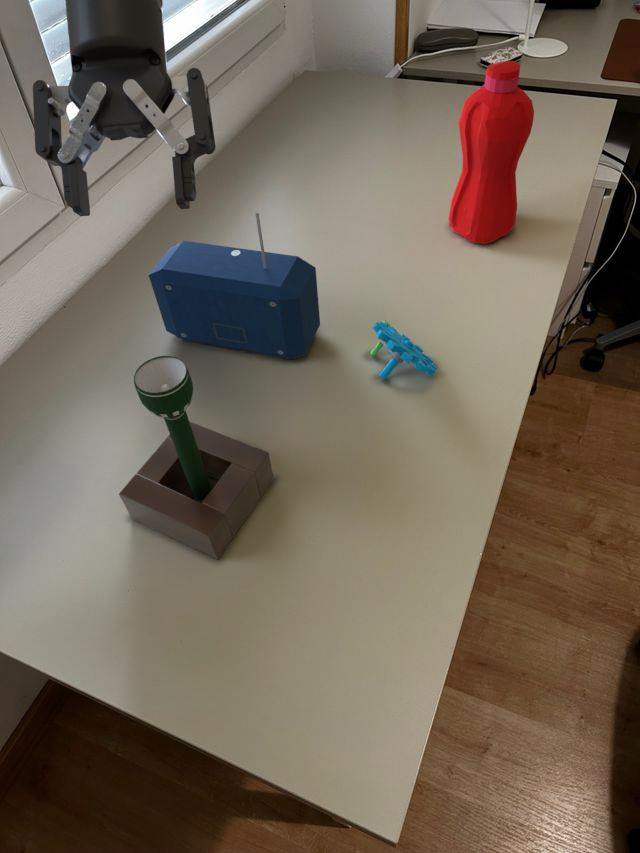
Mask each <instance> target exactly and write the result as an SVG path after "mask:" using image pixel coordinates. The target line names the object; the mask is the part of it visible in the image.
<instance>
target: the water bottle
mask: <svg viewBox="0 0 640 853" xmlns="http://www.w3.org/2000/svg"><path fill="white" fill-rule="evenodd" d="M520 71H521V65H520V64H519V63H518V62H516V61H514V60H503V61H497V62H495V63H494V62H493V63H492V64H489V65H488V66H487V67H486V71H485V72H486V73H485V78H484V79H485V80H484V84H483V85H481V86H480V87H478V89H476V90H474V91H473V92H472V93H471V94H470V95H468V97H467V98H466V99H465V101H464V104H463V106H462V110H461V113H460V116H459V120H458V130H459V138H460V146H461V154H462V166H461V167H462V169H461V172H460V175H459V178H458V181H457V184H456V187H455V189H454V192H453V195H452V198H451V200H450V207H449V213H448V214H449V215H448V223H449V227H450V228H451V229H452V231H453V232H454V233H456V234H458V235H460V236H461V237H463V238H464V239H465V240H466V241H468V242H471V243H473V244H483V245H485V244H489V243H492V242H495V241H496V240H498V239H499V238H501V237H504V236H507V235H508V234H509V233H510V232H511V231H512V230H513V228H514V227H515V224H516V219H517V211H518V195H517V194H518V192H517V177H516V173H517V168H518V163H519V161H520V158H521V156H522V154H523V152H524V150H525V147H526V144H527V142H528V140H529V138H530V136H531V133H532V128H533V123H534V117H535V109H534V105H533V100H532V99H531V98H530V97H529V95H528V94H527V93H526V92H525V91H524V90H523V89H521V88H520V87H519V86H518V84H519V79H521V77H520Z"/></svg>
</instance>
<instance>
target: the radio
mask: <svg viewBox="0 0 640 853" xmlns="http://www.w3.org/2000/svg"><path fill="white" fill-rule="evenodd" d="M254 215H255V219H256V226H257V234H258V240H259V245H260V250H254V249H247V248H241V247H240V248H239V247H233V246H227V245H226V246H225V245H217V244H211V243H210V244H209V243H202V242H197V241H196V242H195V241H188V240H182V241H180V242H178V243H176V244H174V245H172V246H170V247H169V248H168V249H167V251H166V252H165V253H164V255H163V256H162V258H160V260H159V261H158V263H157V264H156V265H155V266H154V267H153V269H152V270H151V271H150V272H149V274H148V278H149V281H150V285H151V287H152V291H153V294H154V297H155V300H156V304H157V306H158V309H159V311H160V315H161V319H162V322H163V325H164V328H165V330H166V332H168V333H170V335H172V336H174V337H177V338H178V339H180V340H182V341H184V342H190V343H196V344H201V345H206V346H212V347H217V348H224V349H228V350H235V351H240V352H245V353H251V354H255V355H256V354H257V355H263V356H269V357H273V358H279V359H284V360H294V359H298V358H301V357H304V356H306V355H307V353H308V351H309V349H310V347H311V345H312V343H313V341H314V339H315V337H316V334H317V332H318V330H319V328H320V327H321V316H320V305H319V293H318V280H317V268H316V267H315V266H314V265H312V264H311V263H309V262H307V261H306V260H305V259H303V258H301V257H299V256H297V255H291V254H284V253H277V252H268V251H265V248H264V240H263V234H262V228H261V221H260V220H261V218H260V214H259V212H255V213H254Z"/></svg>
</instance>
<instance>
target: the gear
mask: <svg viewBox="0 0 640 853" xmlns="http://www.w3.org/2000/svg"><path fill="white" fill-rule="evenodd" d="M372 330H374V332H376V334H375V335H376V337H377V338H378V340H379V341H378V342H377V344H376V345H375V346H374V347H373V349H372V350H371V351H370V352H369V354H370V355H371V356H372V357H375V356H377V354H378V353H379V351H381V349H382V348H383V346H384V348H385V349H386V350H387V351H388V353H389V354H390V356H391V357H392V358H391V359H390V360H389V362H388V363H387V364H386V365H385V366H384V368H383V369H382V370H381V372H380V373H379V374H378V377H380V379H381V380H384V381H386V380H387V378H388V377H389V376H390V374H391V373H392V372H393V371H394V369H395V368H396V367H397V366H398V364H402V363H403V362H404V363H406V364H407V365H409V364H410V363H413V364H414V368H415V369H416V370H417V371H419V372H420V373H422V374H424V373H425V374H426V375H427V376H430V377H433V376H434V375H435V374H436V373H437V370H439V367H438V366H437V365H436V364H434V360H433V359H432V357H430V356H429V355H427V354H425V353H424V350H423V349H422V348H421V347H420V346H419V345H417V344H414V343H413V341H411V339H410V338H409V337H408V336H406V335H405V334H404V333H402V334H401V333H400V332H398V330H397V329H396V328H395V327H393V326H392V325H391V324H390V322H388V321H387V320H383V321H381V320H378V322H376V323H375V324H374V325H373V327H372Z"/></svg>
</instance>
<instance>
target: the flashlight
mask: <svg viewBox="0 0 640 853" xmlns="http://www.w3.org/2000/svg"><path fill="white" fill-rule="evenodd" d="M133 384H134V388H135V391H136V393H137V396H138V398H139V400H140V403H141V404H142V405H143V406H144V407H145V408H146V409H147V410H148V411H149V412H150V413H151V414H153V415H155V416H156V417H160V418H163V419H164V422H165V425H166V427H167V430H168V434H169V435H170V436H171V438H172V441H173V444H174V446H175V449H176V452H177V454H178V457H179V460H180V462H181V465H182V468H183V470H184V473H185V476H186V478H187V481H188V484H187V485H188V486H189V489H190V492H191V494H192V497H193V500H196V501H198V502H200V503H202V502H203V501H204V499H205V498H206V497H207V495H208V494H209V493H210V491H211V490H212V489H213V487H212V485H211V482H210V479H209V476H208V475H207V473H206V470H205V467H204V464H203V461H202V458H201V455H200V452H199V449H198V446H197V443H196V440H195V437H194V434H193V431H192V428H191V425H190V422H191V421H190V420H189V416H188V414H187V409H188V408H189V406H190V405H191V403H192V400H193V395H194V382H193V379H192V377H191V373H190V370H189V368H188V366H187V364H186V363H185V362H184V361H183V360H182V359H181V358H179V357H176V356H173V355H159V356H155V357H153V358H150V359H148V360H146V361H145V362H143V363H142V364H141V365H140V366H138V367H137V369H136V371H135V373H134V376H133ZM189 421H190V422H189Z"/></svg>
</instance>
